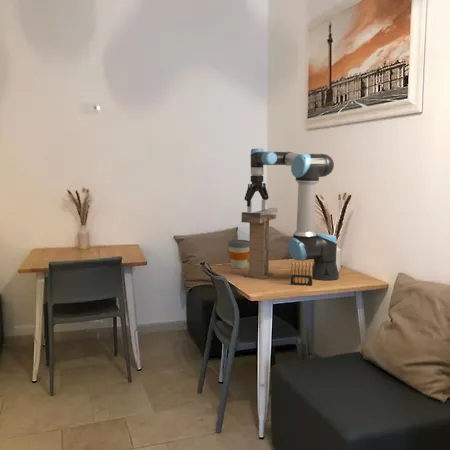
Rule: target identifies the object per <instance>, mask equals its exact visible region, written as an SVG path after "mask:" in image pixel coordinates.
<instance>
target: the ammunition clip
mask: <svg viewBox="0 0 450 450" xmlns="http://www.w3.org/2000/svg"><path fill="white" fill-rule="evenodd" d="M312 266H313V263H312V261H310V262H308V261H306V263H305V260H304V261H299V262H298V260H295V262H294V260H292V261H291V267H290V268H291V269H290V283H289V284H290V286H304V285H306V287H312V286H313V278H312Z"/></svg>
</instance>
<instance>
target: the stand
mask: <svg viewBox="0 0 450 450" xmlns="http://www.w3.org/2000/svg"><path fill="white" fill-rule="evenodd" d="M275 219H277V214H276V213H273V214H269V215H266V216H262V217H261V213H253V212H245V211H242V212H241V221H240V222H241V223H248V224H249V240H248V241H249V259H248V260H249V261H248V263H249V264H248V272H247V273H246V274H244V275H243V277H244V278H250V279H259V280H260V279H261V280H267V279H268V278H271V277H272V276H273V275H274V272H269V264H270V263H269V260H270V259H269V258H270V257H269V255H270V251H269V250H270V248H269V247H270V245H269V243H270V242H269V241H270V221H272V220H275Z"/></svg>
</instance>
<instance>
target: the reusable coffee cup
mask: <svg viewBox="0 0 450 450" xmlns="http://www.w3.org/2000/svg"><path fill="white" fill-rule="evenodd" d="M228 256H229V259H230V265H231V266H230V267H231V268H232V269H238V268H241V269H246V268H247V267H248V262H249V261H248V260H249V240H246V239H232V240H231V239H230V240H229V241H228Z"/></svg>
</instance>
